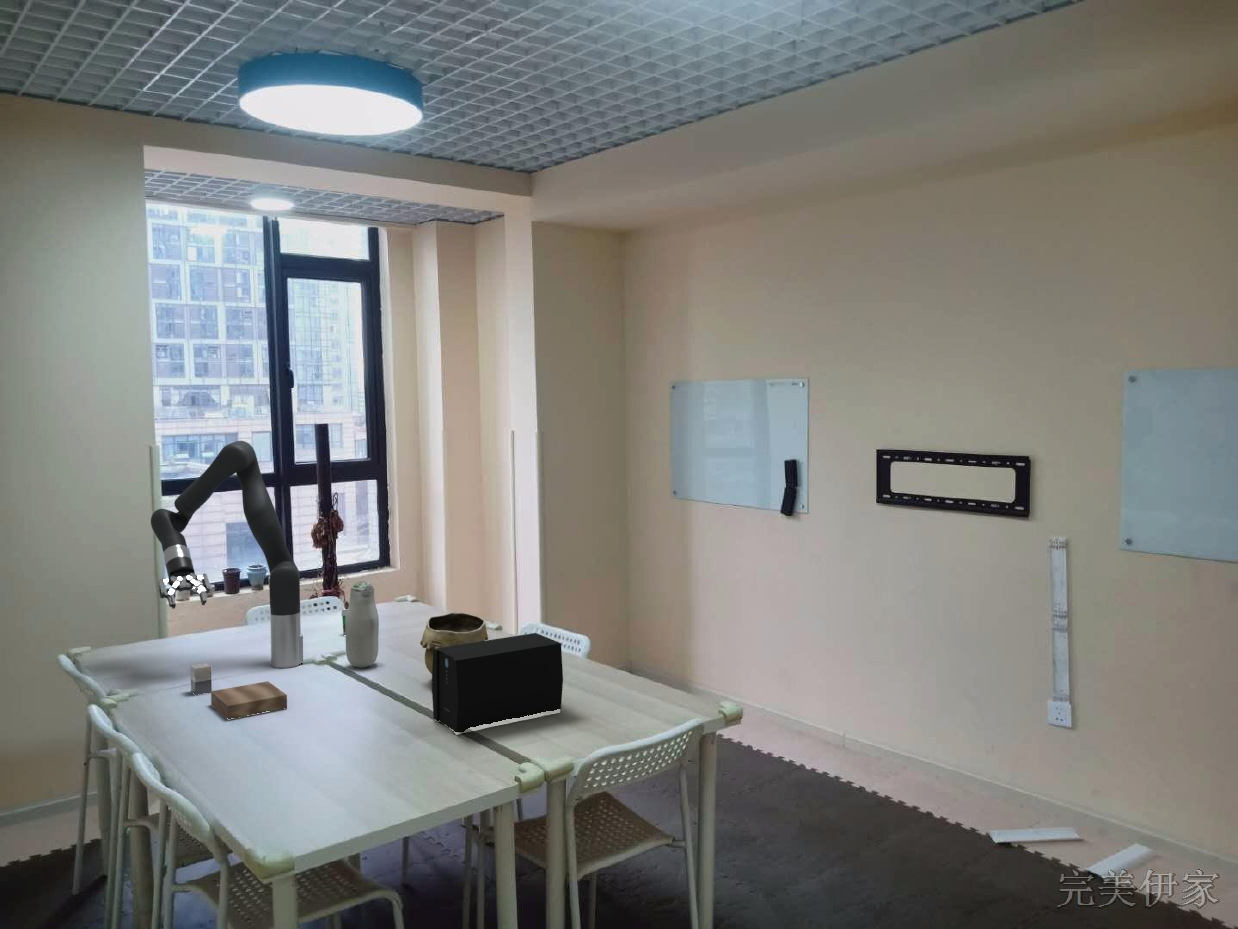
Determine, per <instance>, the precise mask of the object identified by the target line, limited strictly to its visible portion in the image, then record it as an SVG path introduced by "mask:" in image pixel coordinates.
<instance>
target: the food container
mask: <svg viewBox="0 0 1238 929" xmlns="http://www.w3.org/2000/svg"><path fill="white" fill-rule="evenodd" d="M347 610H348V609H342V610H341V618H342V619H341V620H342V629H343V631H342V633H343V636H344V635H346V634H345V619H346V613H347Z"/></svg>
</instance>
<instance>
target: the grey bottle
mask: <svg viewBox="0 0 1238 929" xmlns="http://www.w3.org/2000/svg"><path fill="white" fill-rule="evenodd" d="M349 596H350V597H349V602H348V608H347V609H346V610H347V613H346V619H345V634H346V636H345V654H346V658H347V660H348V662H349V664H350V665H351V666H353V667H356V668H359V667H363V668H368V667H367V666H369V667H370V665H371V666H372V665H374V664H375V663H376V661H377V658H378V655H379V633H380V631H379V630H380V628H379V627H380V619H379V613H378V609H377V604H376V599H375V587H374V586H373V584H372V583H371V582H368V581H362V580H361V581H357V582H354V583H353V584H352V585H351V588H350V593H349Z"/></svg>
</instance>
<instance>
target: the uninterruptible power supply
mask: <svg viewBox="0 0 1238 929" xmlns="http://www.w3.org/2000/svg"><path fill="white" fill-rule="evenodd" d="M562 655H563V653H562V643H561V642H559V641H557V640H554V639H552V638H550V637H547V636H545V635H543V634H540V633H538V632H534V633H528V634H527V633H526V634H520V635H519V634H518V635H513V636H508V637H507V636H506V637H499V638H494V639H488V640H485V641H480V642H474V643H467V644H461V645H455V646H448V647H442V648H435V649H433V667H432V674H431V696H432V698H431V699H432V712H433V713H432V714H433V715H432V716H433V720H434V719H436V720H437V721H439V720H440V721H441V722H442V723H443V724H446V725H447V726H448V727H450V728H451V729H453V730H454V731H455V732H464V731H465V730H466V729H468V728H470V727H476V726H479V725H483V724H491V723H493V722H498V721H502V720H506V719H512V718H520V717H524V716H527V715H528V716H529V715H533V714H537V713H541V712H546V711H554V710H557V709H561V710H562V700H563V699H562V698H563V687H564V686H563V685H564V684H563V683H564V668H563V656H562ZM443 724H442V725H443Z"/></svg>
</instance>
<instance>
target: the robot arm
mask: <svg viewBox="0 0 1238 929" xmlns="http://www.w3.org/2000/svg"><path fill="white" fill-rule="evenodd" d="M235 474H236V477H237V479H238V481H239V484H240V487H241V497H242V498H241V499H242V509H243V513H244V517H245V519H246V522H247V524H248V528H249V530H250V532H251V533H252V536H253V538H254V540H255V541H256V542H257V544H258V546H259V547H260V549H261V551H262V553H263V554H264V557H265V560H266V564H267V566H268V571H269V575H270V576H269V582H268V584H269V585H268V586H269V608H270V610H269V612H270V613H269V614H270V652H271V653H270V656H271V658H270V664H271V667H273V668H276V669H277V668H278V669H287V668H294V667H297V666H299V664H300V665H302V664H301V663H302V662H303V663H304V636H303V634H302V633H301V630H302V629H301V596H300V595H301V590H300V589H301V587H300V586H301V585H300V582H301V580H300V579H301V574H300V573H301V572H300V570H299V569H298V567H297V564H296V563H295V561H294V559H293V557H292V554H291V553H290V550H289V549H288V546H287V544H286V541H285V537H284V532H283V530H282V526H281V522H280V520H279V517H278V514H277V511H276V508H275V506H274V504H273V502H272V498H271V497H270V494H269V492H268V491H269V490H268V488H267V486H266V485H265V482H264V478H263V475H262V473H261V468H260V465H259V462H258V458H257V453H256V451H255V449H254V446H252V445H251V444H250V443H249V442H247V441H244V440H237V441H236V440H235V441H234V442H231V443H229V444H226V445H224V446H223V447H222V448H221V450H220V451H219V453H218V454H217V455H216V456H215V458H214V459H213V461H212V462H211V463H210V465H209V466H208V467H207V469H205V470H204V472H202V474H201V475H200V476H199V477H198V478H197V479H196V480H194V481H193V482H192V483H191V484H190V485H189V486H188V487H187V488H185V490H184V491H183V492H182V493H180V495H179V496H177V497H176V498H175V500H174V502H173V504H174V507H175V509H176V510H177V512H175V511H172V510H169V509H167V508H158V509H156V510H155V511H154V512H153V513H152V515H151V517H150V526H151V528H152V529H151V530H152V531H153V533H154V535H155V536H156V538H157V540H158V541H159V542H160V545H161V549H162V552H163V560H164V566H165V569H166V573H167V578H165V579H164V578H163V577H159V579H158V583H157V584H158V593H159V597H160V598H161V599H164V598H165V599H167V602H168V606H169V607H170V608H171V609H173V610H175V608H176V607H177V604H176V603H177V602H176V600H175V594H176V592H180V593H181V592H184V591H187V592H189V591H193V592H194V593H197V594H198V595H199V598H200V603H201V606H205V604H207V601H208V598H207V597H208V596H207V594H209V593H210V592H211V589H212V587H211V584H210V580H209V578H208V575H207V573H203V574H202V575H197V574H196V572H195V568H194V564H193V560H192V557H191V553H190V551H189V548H188V545H187V541H186V537H185V536H184V535H183V533H182V532H183V531H184V530H186V528H187V526H188V524H190V523H189V522H190V521H191V519H192V517H193V515H194V514H195V513H196V512H197V511H198V510H199V509H200V508H201V507H202V506H203V505H204V504H205V503H206V502H207V501H208V500H209V499H210V498H211V496H212V495H213V494H214V493H215V491H216V490H218V487H219V486H220V485H222V484H223V482H225V481H226V480H227V479H229V478H230V477H232V476H233V475H235ZM198 581H199V582H198ZM201 584H202V585H201ZM167 585H170V586H171V587H170V589H169V591H166V586H167Z"/></svg>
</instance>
